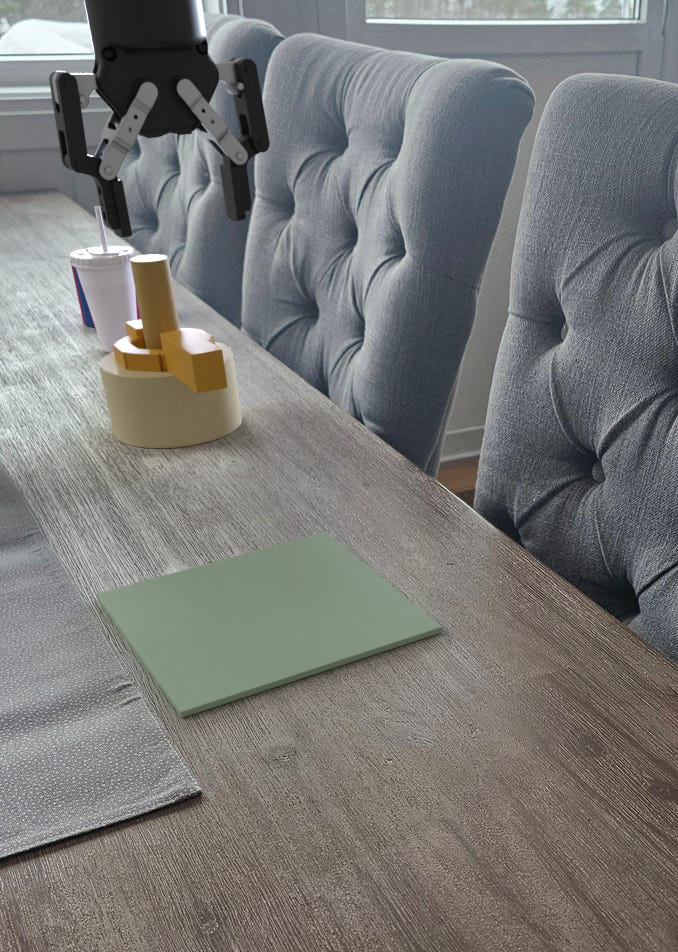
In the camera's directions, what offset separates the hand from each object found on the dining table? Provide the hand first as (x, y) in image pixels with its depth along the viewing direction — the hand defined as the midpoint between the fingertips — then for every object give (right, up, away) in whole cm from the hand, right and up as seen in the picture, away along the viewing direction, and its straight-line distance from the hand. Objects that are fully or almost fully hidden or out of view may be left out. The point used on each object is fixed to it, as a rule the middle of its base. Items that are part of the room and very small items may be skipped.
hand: (181, 227), depth 81 cm
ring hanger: (-3, -7, +11) cm, 14 cm away
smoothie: (-16, +2, +37) cm, 41 cm away
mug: (-21, +9, +48) cm, 53 cm away
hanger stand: (-5, -11, +16) cm, 20 cm away
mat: (+8, -29, -13) cm, 33 cm away
